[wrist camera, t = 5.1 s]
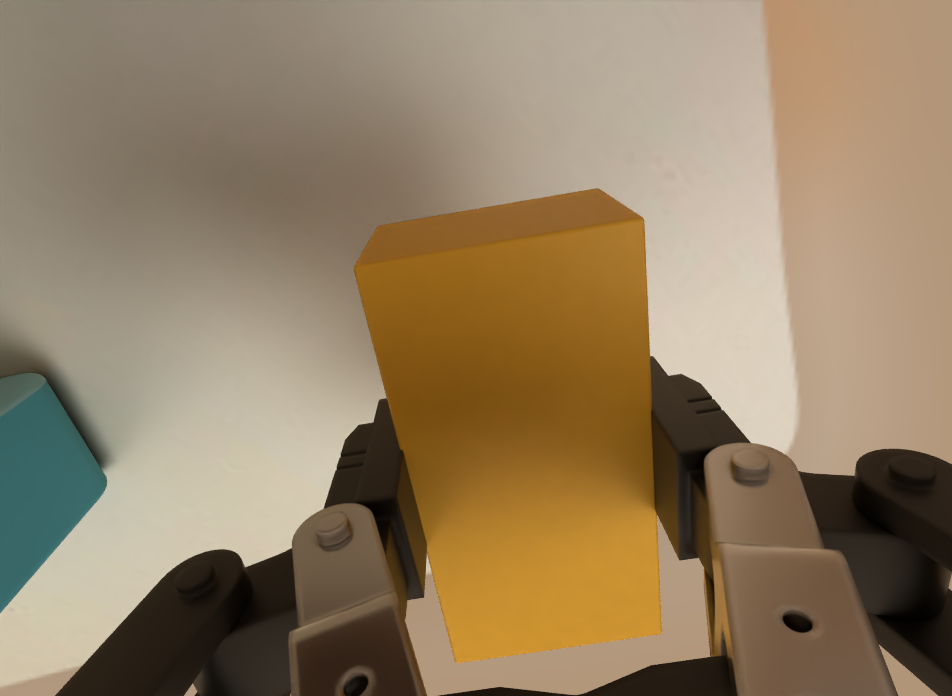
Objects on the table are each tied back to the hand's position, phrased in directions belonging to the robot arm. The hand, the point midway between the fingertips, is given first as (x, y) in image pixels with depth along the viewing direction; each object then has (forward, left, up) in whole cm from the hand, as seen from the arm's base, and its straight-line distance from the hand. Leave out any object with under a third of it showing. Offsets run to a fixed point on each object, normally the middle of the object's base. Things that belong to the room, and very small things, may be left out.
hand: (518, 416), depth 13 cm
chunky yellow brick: (0, 0, -1) cm, 1 cm away
